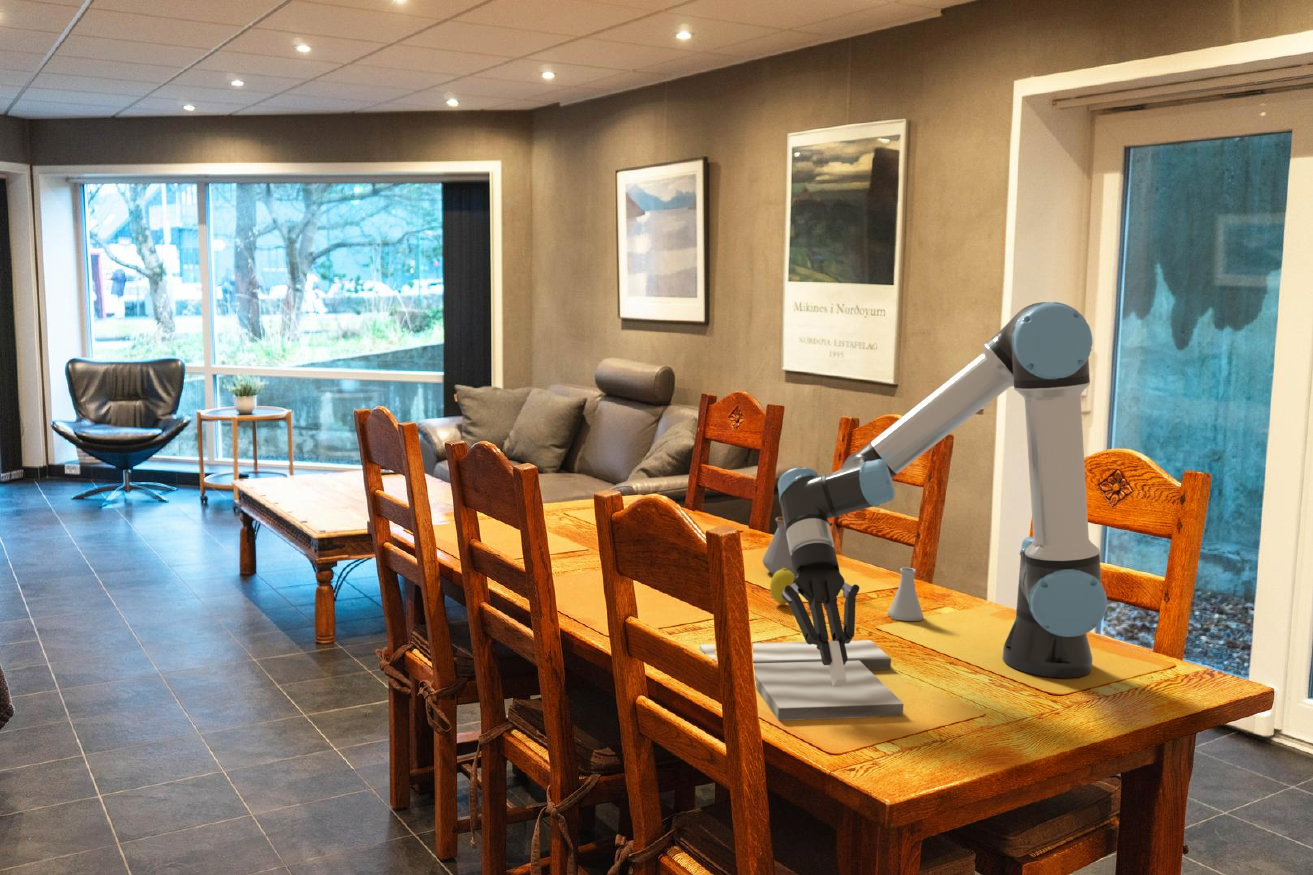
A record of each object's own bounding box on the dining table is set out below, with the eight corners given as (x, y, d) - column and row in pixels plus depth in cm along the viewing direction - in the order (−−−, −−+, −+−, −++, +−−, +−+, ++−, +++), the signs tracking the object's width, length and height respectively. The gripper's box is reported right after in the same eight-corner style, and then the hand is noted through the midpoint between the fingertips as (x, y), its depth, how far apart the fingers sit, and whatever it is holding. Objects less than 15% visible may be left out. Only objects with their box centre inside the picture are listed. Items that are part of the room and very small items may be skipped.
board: (699, 655, 198) (699, 644, 197) (870, 650, 203) (870, 640, 203) (711, 674, 188) (711, 663, 188) (890, 669, 193) (891, 658, 193)
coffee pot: (752, 570, 259) (754, 507, 257) (791, 565, 265) (794, 503, 263) (809, 593, 241) (812, 525, 239) (849, 587, 246) (853, 521, 244)
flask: (921, 613, 228) (924, 565, 227) (925, 623, 221) (928, 574, 220) (885, 611, 229) (888, 563, 228) (888, 621, 222) (891, 572, 220)
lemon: (797, 609, 228) (799, 571, 227) (770, 608, 228) (772, 570, 227) (794, 601, 233) (796, 564, 232) (768, 600, 233) (770, 564, 232)
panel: (746, 674, 188) (747, 663, 188) (858, 671, 192) (859, 660, 191) (778, 720, 169) (779, 707, 168) (902, 715, 172) (903, 703, 172)
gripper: (843, 563, 189) (872, 691, 175) (769, 564, 187) (793, 694, 173) (855, 540, 183) (886, 671, 169) (779, 540, 181) (805, 673, 167)
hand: (839, 682), depth 171 cm, fingers closed
